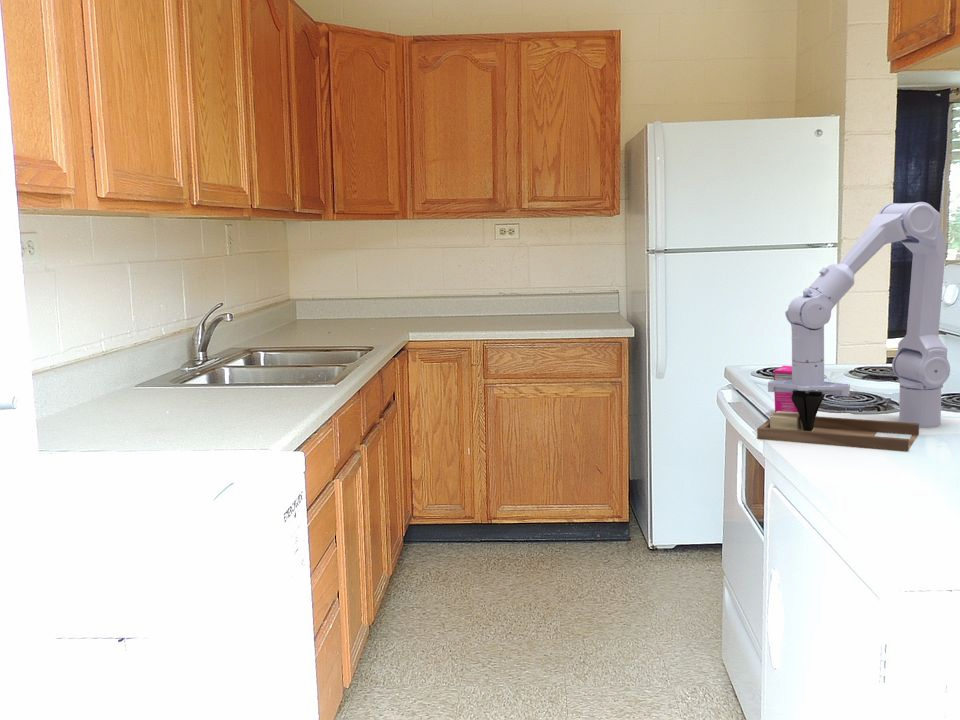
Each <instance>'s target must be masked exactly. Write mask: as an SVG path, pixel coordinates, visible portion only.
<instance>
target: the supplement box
mask: <svg viewBox="0 0 960 720" xmlns="http://www.w3.org/2000/svg"><path fill="white" fill-rule="evenodd" d="M773 380H775V381H784V380H792V365H782V366H781V367H777V368H776V369H773ZM773 393H774V413H775V412H777V411H783V412H798V411H797V409H796V407H795V405H794V403H793V402H792V399H791V396H792V394H793V392H776V391H774V392H773Z"/></svg>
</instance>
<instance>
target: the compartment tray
mask: <svg viewBox="0 0 960 720" xmlns="http://www.w3.org/2000/svg"><path fill="white" fill-rule="evenodd" d="M877 433H881V434H882V433H883V434H895V435H906V436H907V435H910V437H909V438H901V437H891V436H888V437H887V436H876V434H877ZM756 434H757V435H756V436H757V437H756V438H757V440H766V441H777V442H788V443H789V442H790V443H803V444H813V445H825V446H837V447H846V448H848V447H849V448H859V449H860V448H861V449H870V450H871V449H872V450H884V451H885V450H886V451H894V452H895V451H897V452H909V451H910V449H911V447H913V444H914V442H915V441H916V440H917V438H918V436H919V435H920V428H919V423H906V422H899V421H890V420H889V421H888V420H877V419H876V420H875V419H861V418H860V419H859V418H847V417H829V416H818V415H816V417H815V421H814V426H813V430H812V431H801V430H788V429H775V428H770V418H769V419H768V420H766V421H765V422H764V423H762V424H761V425H760V426H758V427H757V431H756Z"/></svg>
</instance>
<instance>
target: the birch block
mask: <svg viewBox="0 0 960 720" xmlns="http://www.w3.org/2000/svg"><path fill="white" fill-rule="evenodd" d="M769 419H770V428H775V429H788V430H801V431H803V426H802V422H801V419H800V416H799V413H798V412H783V411H777V412H775V411H774V413H773V414H772V415H769Z"/></svg>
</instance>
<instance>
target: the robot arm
mask: <svg viewBox="0 0 960 720" xmlns="http://www.w3.org/2000/svg"><path fill="white" fill-rule="evenodd" d="M941 217H942V216H941V213H940V212H939V211H938V210H936V209H935V208H934V207H933V206H932V205H931V204H930V203H928V202H924V201H918V202H908V203H907V202H906V203H898V202H897V203H896V202H891V203H888V204H886V205H884V206H883V207H882V208H881V209H880V211H879V212H878V213H877V214H875V216H873V217H872V218H871V220H870V222H869V223H870V224H869V226H868V227H867V228H866V229H865V231H864V232H863V233H862V235H860V237H859V238H858V240H856V242H855V243H854V244H853V246H852V247H851V248H850V249H849V251H847V253H846V254H845V256H844V257H843V258H842V260H841V261H839V263H837V264H829V265H828V266H827V267H822V268H821V269H820V270H819V271H818V272H819V274H820V275H819V276H818V277H817V278H816V279H815V280H814V281H813V282H812V283H811V284H810V286H809V287H808V288H804V290H803V291H802V293H803V295H800V296H797V297H795V298H794V299H792V300H791V301H790V303H789V304H788V309H787V310H785V312H784V314H785V317H786V320H787V321H788V323H789V324H790V325H791V327H790V328H791V366H792V380H784V381H775V380H774V379H773V380H769V381H768V382H767V392H768V393H774V391H776V392H793V394H792V396H791V399H792V402H793V403H794V405H795V407H796V409H797V411H798V413H799V416H800V419H801V422H802V426H803V431H812V430H813V426H814V421H815V417H816V416H817V414H818V411H819V409H820V406H821V404H822V402H823V400H824V398H825V397H826V395H832V396H833V395H835V396H842V397H848V396H849V395H850V393H851V392H850V390H851V389H850V388H851V385H850V384H849V383H838V382H834V381H833V382H831V381H830V382H829V381H825V325H827V324H829V321H830V320H831V317H832V310H833V309H834V308H835V306H836V305H837V304H838V303H839V302H840V301H841V300H842V298H843V297H844V296H845V295H846V294H847V293H848V292H849V291H850V289H852V288H853V286H854V285H855V275H856V273H858V271H860V270H861V269H862V268H863V267H864V265H865V264H867V263H868V261H870V259H872V258H873V257H874V256H875V255H876V254H877V253H878V252H879V251H880V250H881V249H882V248H883V247H884V246H885V245H887V244H891V243H892V244H893V243H895V242H896V243H897V242H900V243H901V244H903V245H904V246H905V248H907V249H908V250H909V251H910V252H911V253H912V260H911V263H912V264H911V272H910V273H911V274H910V284H909V288H910V289H909V299H908V311H907V325H906V334H905V336H904V337H903V338H901V340H900V341H899V342H898V346H897V350H896V353H895V355H894V357H893V359H892V361H891V362H892V363H891V367H892V371H893V373H894V375H895V376H896V377H897V378H898V384H899V407H898V408H899V409H898V410H899V411H898V412H899V414H898V415H899V417H898V422H906V423H919V429H920V428H921V429H930V428H931V429H932V428H937V427H940V426H941V425H942V424H941V423H942V422H941V418H942V417H941V415H942V389H943V387H944V384H945V383H947V381H948V379H949V376H950V375H951V374H950V373H951V366H950V362H949V360H948V348H947V346H946V345H945V343H943V341H942V340H941V339H940V336H939V332H940V322H941V321H940V320H941V307H942V297H943V296H942V295H943V288H944V287H943V286H944V285H943V284H944V275H945V273H944V272H945V264H946V263H945V261H946V250H947V249H946V248H947V242H946V238H945V236H944V234H943V230H942V227H941Z"/></svg>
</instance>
